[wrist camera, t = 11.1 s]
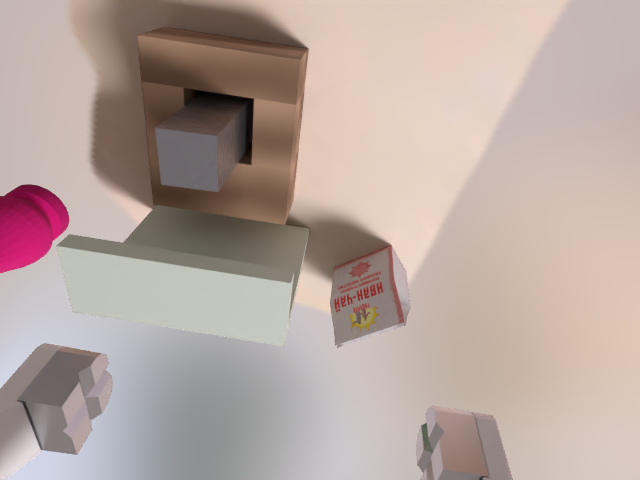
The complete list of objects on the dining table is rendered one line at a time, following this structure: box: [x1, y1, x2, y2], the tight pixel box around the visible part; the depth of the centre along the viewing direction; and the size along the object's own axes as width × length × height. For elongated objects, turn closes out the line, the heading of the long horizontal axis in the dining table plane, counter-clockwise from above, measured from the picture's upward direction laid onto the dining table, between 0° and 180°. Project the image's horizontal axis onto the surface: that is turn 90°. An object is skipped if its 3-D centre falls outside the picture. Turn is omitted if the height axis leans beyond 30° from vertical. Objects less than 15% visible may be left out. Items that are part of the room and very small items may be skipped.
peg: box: [155, 91, 254, 192], centre depth 34 cm, size 4×4×12 cm
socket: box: [137, 27, 308, 225], centre depth 37 cm, size 14×12×5 cm
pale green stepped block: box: [56, 205, 310, 346], centre depth 37 cm, size 6×16×16 cm, turn 83°
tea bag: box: [330, 245, 410, 348], centre depth 43 cm, size 4×7×10 cm, turn 120°
